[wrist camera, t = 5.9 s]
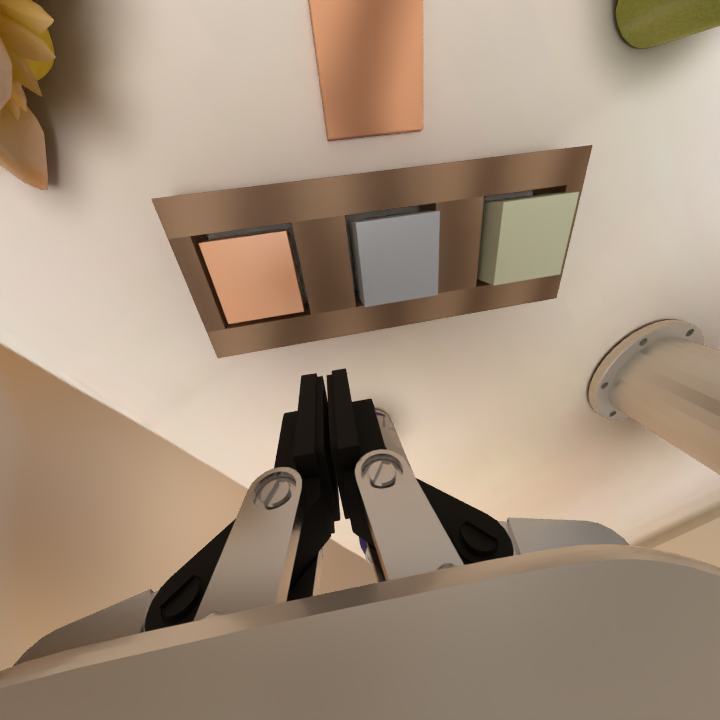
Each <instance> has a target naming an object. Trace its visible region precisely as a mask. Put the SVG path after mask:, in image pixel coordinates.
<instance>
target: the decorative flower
mask: <svg viewBox="0 0 720 720" xmlns="http://www.w3.org/2000/svg"><path fill="white" fill-rule="evenodd" d="M53 21H54V19H53V18H52V17H51V16H49V15H48V14H47V13H46V12H45V11H44V9H43V8H42V7H41V6H40V5H38V4H37V3H35V2H33V1H32V0H0V165H2V166H3V167H4V168H5V169H6V170H8V171H9V172H10V173H12V174H13V175H15V176H16V177H17V178H19V179H20V180H22V181H23V182H25V183H27V184H29V185H32V186H34V187H36V188H39V189H41V190H48V173H47V160H46V148H45V138H44V132H43V130H42V128H41V126H40V124H39V122H38V120H37V118H36V117H35V115H34V114H33V113H32V112H31V110H30V109H29V108H28V107H27V105H26V102H27V99H26V96H25V93H24V91H23V88H22V85H23V86H25V87H26V88H28V89H29V90H31V91H33V92H34V93H36V94H37V95H39V96H42V93H41V91H40V88H39V85H38V82H37V81H38V80H40V79H41V78H43V77H45V76H46V74H47V73H48V72H49V70H50V69H51V67H52V66H53V63H54V59H55V58H56V56H55V55H54V53H55V52H54V46H53V43H52V40H51V37H50V34H49V31H48V27H49V26H50V25H51V24H52V23H53ZM42 97H43V96H42Z"/></svg>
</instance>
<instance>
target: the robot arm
mask: <svg viewBox="0 0 720 720" xmlns="http://www.w3.org/2000/svg"><path fill="white" fill-rule="evenodd" d="M327 391H328V400H327V395H326V390H325V385H324V380H323V376H320V377H317V374H316V373H315V374H308V375H302V376H301V384H300V394H299V403H298V411H294V412H288V413H285V414H284V416H283V421H282V426H281V432H280V438H279V444H278V449H277V455H276V461H275V466H274V469H271V470H269V471H267V472H265V473H263V474H262V475H260V476H259V477H258V478H257V479H256V480H255V481H254V482H253V483H252V484H251V486H250V488H249V490H248V491H247V494H246V496H245V499H244V501H243V503H242V506H241V508H240V511H239V513H238V515H237V518H236V519H235V520H234V521H233V522H232V523H231V524H229V525H228V526H227V527H226V528H225V529H224V530H223V531H222V532H220V533H219V534H218V535H217V536H216V537H215V538H214V539H213V540H212V541H211V542H209V543H208V544H207V545H206V546H205V547H204V548H203V549H202V550H200V551H199V552H198V553H197V554H196V555H195V556H194V557H193V558H192V559H190V560H189V561H188V562H187V563H186V564H185V565H184V566H183V567H182V568H181V569H179V570H178V571H177V572H176V573H175V574H174V575H173V576H172V577H171V578H170V579H169V580H168V581H167V582H166V583H165V584H164V585H163V586H162V587H161V588H160V590H159V591H157V592H153V591H152V590H151V589H149V590H147V591H145V592H142V593H140V594H138V595H135V596H133V597H131V598H129V599H126V600H124V601H121V602H119V603H117V604H115V605H112V606H110V607H107V608H106V609H103V610H100V611H98V612H96V613H93V614H91V615H89V616H86V617H84V618H82V619H80V620H77V621H75V622H72V623H70V624H68V625H66V626H63V627H61V628H59V629H56V630H55V631H53V632H51V633H49V634H48V635H46V636H44V637H42V638H41V639H40V640H39V641H38V642H36V643H35V644H34V645H33V646H32V647H30V648H29V649H28V650H27V651H26V652H25V653H24V654H23V655H22V656H21V657H20V658H19V660H18V661H17V662H16V663H15V664H14V665H13V666H12V667H10V668H7V669H5V670H2V671H0V720H720V568H718V567H716V566H714V565H711V564H708V563H705V562H702V561H699V560H696V559H693V558H689V557H686V556H682V555H678V554H674V553H670V552H665V551H661V550H656V549H652V548H645V547H637V546H630V545H629V544H628V543H627V542H626V541H625V539H624V538H622V537H621V536H620V535H618V534H617V533H616V532H614V531H613V530H612V529H609V528H607V527H605V526H603V525H601V524H599V523H594V522H589V521H575V520H552V519H528V518H508V519H507V522H502V521H497V520H495V519H494V518H492V517H491V516H489V515H488V514H486V513H484V512H482V511H480V510H478V509H476V508H474V507H472V506H470V505H468V504H466V503H464V502H462V501H460V500H458V499H456V498H454V497H452V496H450V495H448V494H446V493H444V492H442V491H440V490H438V489H436V488H435V487H433V486H431V485H429V484H427V483H425V482H423V481H421V480H419V479H417V478H415V476H414V474H413V473H412V471H411V469H410V467H409V465H408V464H407V462H406V461H405V459H404V458H403V457H402V456H401V455H399V454H398V453H396V452H393V451H390V450H386V447H385V444H384V440H383V437H382V433H381V430H380V426H379V423H378V419H377V415H376V412H375V408H374V405H373V402H372V399H367V400H361V401H355V402H352V401H351V395H350V389H349V383H348V378H347V372H346V369H340V370H334V371H332V375H327ZM589 402H590V405H591V407H592V408H593V409H594V410H595V411H596V412H598V413H599V414H600V415H602V416H603V417H605V418H608V419H614V420H620V419H628V418H632V419H633V420H635V421H636V422H638V423H640V424H641V425H643V426H644V427H646V428H647V429H649V430H650V431H652V432H654V433H655V434H657V435H658V436H660V437H661V438H663V439H665V440H666V441H668V442H669V443H671V444H672V445H674V446H675V447H677V448H679V449H680V450H682V451H683V452H685V453H686V454H688V455H690V456H691V457H693V458H694V459H696V460H697V461H699V462H700V463H702V464H704V465H705V466H707V467H708V468H710V469H711V470H713V471H714V472H716V473H718V474H719V475H720V351H718V350H715V349H713V348H710V347H707V346H704V343H703V336H702V333H701V331H700V330H699V329H698V328H697V326H694V325H692V324H690V323H687V322H683V321H680V320H664V321H659V322H656V323H653V324H650V325H648V326H645V327H644V328H642V329H640V330H638V331H636V332H634V333H633V334H631V335H630V336H628V337H627V338H625V339H624V340H623V341H622V342H621V343H619V344H618V345H617V346H616V347H615V348H614V349H613V350H612V351H611V352H610V353H609V354H608V355H607V356H606V357H605V359H604V360H603V361H602V363H601V364H600V365H599V367H598V369H597V370H596V372H595V374H594V376H593V378H592V381H591V383H590V388H589ZM338 488H339V492H340V497H341V502H342V506H343V511H344V515H345V519H349V518H350V521H351V526H352V530H353V532H354V533H355V534H356V535H358V536H359V537H360V538H362V539H363V540H364V541H366V542H367V548H368V551H369V555H370V558H371V561H372V565H373V568H374V571H375V575H376V578H377V582H378V583H374V584H369V585H365V586H360V587H355V588H350V589H346V590H341V591H336V592H331V593H326V594H321V595H318V591H319V583H320V575H321V567H322V559H323V548H322V547H323V546H324V544H325V543H326V542H327V541H328V540H329V538H330V537H331V534H332V533H335V529H334V521H339V520H340V508H339V494H338Z"/></svg>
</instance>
